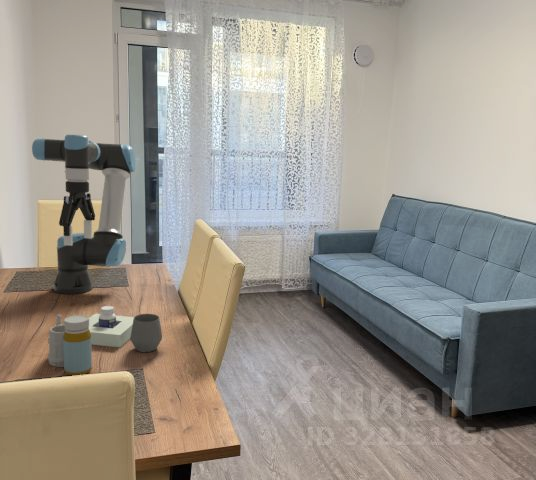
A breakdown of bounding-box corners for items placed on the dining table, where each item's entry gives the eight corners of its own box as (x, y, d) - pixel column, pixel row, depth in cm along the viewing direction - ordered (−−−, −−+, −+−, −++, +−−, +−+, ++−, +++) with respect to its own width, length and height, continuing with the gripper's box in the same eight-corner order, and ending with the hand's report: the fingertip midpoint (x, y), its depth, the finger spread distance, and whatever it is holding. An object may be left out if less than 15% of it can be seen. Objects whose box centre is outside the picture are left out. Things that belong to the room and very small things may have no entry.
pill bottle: (111, 337, 159) (111, 311, 158) (95, 336, 160) (95, 309, 158) (118, 332, 164) (118, 306, 163) (103, 330, 165) (103, 304, 164)
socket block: (95, 324, 171) (95, 313, 170) (140, 329, 169) (140, 317, 168) (71, 342, 155) (70, 329, 154) (120, 347, 153) (120, 335, 152)
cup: (146, 357, 147) (146, 325, 145) (123, 349, 151) (123, 318, 150) (168, 347, 155) (168, 317, 153) (146, 340, 159) (146, 310, 158)
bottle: (67, 366, 139) (65, 314, 136) (93, 364, 140) (92, 314, 137) (62, 377, 132) (60, 323, 129) (89, 376, 133) (88, 323, 131)
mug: (49, 369, 136) (48, 327, 134) (44, 353, 146) (43, 314, 144) (79, 364, 140) (78, 324, 138) (72, 349, 150) (71, 310, 148)
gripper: (85, 178, 184) (86, 234, 187) (46, 182, 159) (48, 247, 163) (104, 179, 183) (104, 236, 187) (68, 183, 158) (69, 249, 162)
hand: (78, 241), depth 175 cm, fingers open, 13 cm apart
